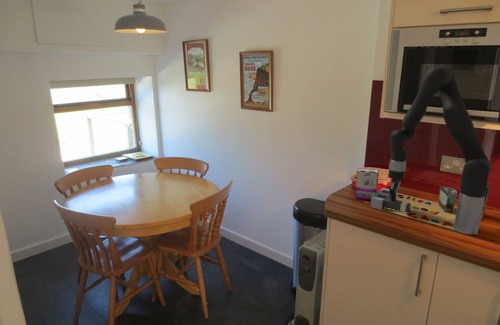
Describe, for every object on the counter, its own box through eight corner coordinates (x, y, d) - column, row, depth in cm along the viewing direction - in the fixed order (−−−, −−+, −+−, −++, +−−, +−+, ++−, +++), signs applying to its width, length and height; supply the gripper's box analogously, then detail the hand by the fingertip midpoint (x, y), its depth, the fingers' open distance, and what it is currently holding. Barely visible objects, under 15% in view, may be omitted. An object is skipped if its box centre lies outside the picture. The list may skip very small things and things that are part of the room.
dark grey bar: (409, 210, 171) (410, 203, 170) (407, 213, 168) (408, 205, 167) (377, 203, 180) (378, 196, 179) (375, 205, 177) (376, 198, 176)
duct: (391, 198, 187) (393, 188, 185) (381, 209, 172) (382, 198, 171) (381, 195, 190) (382, 186, 189) (369, 206, 176) (370, 196, 174)
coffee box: (481, 219, 161) (488, 188, 156) (466, 215, 165) (472, 185, 160) (484, 213, 167) (490, 183, 163) (469, 210, 171) (475, 180, 167)
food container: (459, 214, 167) (462, 195, 164) (445, 213, 168) (448, 194, 165) (450, 204, 178) (453, 186, 175) (437, 203, 179) (440, 186, 177)
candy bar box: (376, 198, 187) (379, 169, 183) (375, 201, 183) (378, 172, 179) (355, 195, 192) (358, 167, 187) (354, 198, 187) (357, 170, 183)
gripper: (401, 173, 161) (397, 206, 166) (408, 167, 171) (404, 198, 176) (385, 170, 165) (381, 203, 170) (393, 164, 175) (389, 195, 180)
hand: (393, 200), depth 173 cm, fingers closed
